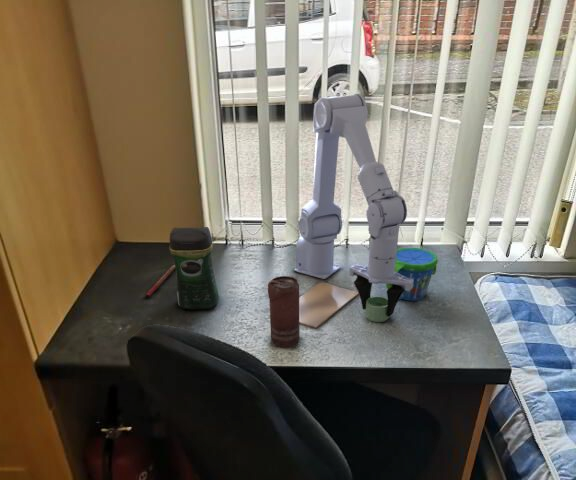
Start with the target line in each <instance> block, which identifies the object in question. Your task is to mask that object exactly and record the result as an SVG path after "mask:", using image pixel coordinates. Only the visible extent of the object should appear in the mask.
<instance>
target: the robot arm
mask: <svg viewBox="0 0 576 480" xmlns="http://www.w3.org/2000/svg"><path fill="white" fill-rule="evenodd" d="M368 115H369V111H368V108H367V103H366V100H365V98H364V96H363V95H362V94H361V93H354V94H349V95H338V96H330V97H329V96H328V97H325V96H323V97H320V98H318V100H317V101H316V102H315V103H314V106H313V122H312V132H313V133H315V134H316V137H315V151H314V169H313V187H312V188H313V189H312V199H310V201H308V203H306V204H305V205H304V206H303V207H302V208H301V211H300V212H301V213H300V218H299V220H298V230H299V234H300V236H299V237H298V239H297V242H296V245H295V268H294V272H297V273H300V274H304V275H307V276H311V277H315V278H318V279H322V280H326V279H328V278H329V277H330V276H331V275H333V274H334V273H336V272H337V271H338V270H340V266H338V265H334V261H335V259H334V256H335V240H337V239H338V235H339V234H341V232H342V229H343V219H342V208H341V207H340V205H339V204H337V203H336V202H335V189H336V177H337V167H338V166H337V165H338V153H339V142H340V137H341V138H344V139H345V140H346V143H347V145H348V147H349V149H350V151H351V153H352V155H353V157H354V159H355V161H356V164H357V165H358V168H359V172H358V174H357V179H358V183H359V185H360V187H361V190H362V193H363V195H364V198H365V200H366V203H367V209H366V210H365V213H366V214H365V215H366V220H367V224H368V229H367V230H368V234H369V235H370V237H369V238H370V239H369V250H368V251H369V252H368V255H369V256H368V265H365V266H364V265H359V264H358V265H357V264H353V265H351V266H350V267H349V271H348V272H349V273H348V275H349V277H355V276H356V279H355V280H354V281H353V286H354V287H355V288H356V290H357V292H358V293H359V294H358V296H359V298H360V302H361V308H362V310H366V300H367V299H368V298H369V297H371V292H372V287H373V284H374V285H377V284H385V285H386V284H389V285H392V287H390V288H389V289H387V290H386V298H388V306H387V316H389V318H390V317H391V316H393V315H394V313H395V309H396V306H397V304H398V302H399V300H400V299H399V298H400V296H401V295H402V293H403V291H404V290H406V291H410V290H411V289H412V288H413V282H414V280H413V279H409V278H407V277H405V276H403V275H400V274H398V273H396V272H395V263H396V253H397V250H398V243H399V232H400V224H404V223H405V221H406V220H407V215H408V208H407V204H406V200H405V198H404V197H403V196H402V195H401V194H399V193H398V191H397V190H394V188H393V186H392V183H391V180H390V177H389V175H388V172H387V170H386V167H385V165H384V164H383V163H382V162H379V161H377V160H376V157H375V153H374V150H373V145H372V143H371V139H370V135H369V133H368V129H367V126H366V125H367V122H368Z"/></svg>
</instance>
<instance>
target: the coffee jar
mask: <svg viewBox="0 0 576 480" xmlns="http://www.w3.org/2000/svg"><path fill="white" fill-rule="evenodd" d="M211 234H212V233H211V230H210V228H209V227H208V226H203V227H202V226H201V227H173V228H172V229H171V231H170V233H169V252H170V254H171V255H172V257H173V260H174V265H175V275H176V298H177V304H178V307H180V308H181V309H183V310H190V311H191V310H208V309H212V308H214V307H215V306H217V304H218V303H219V297H220V296H219V291H218V286H217V281H216V277H215V273H214V268H213V261H212V251H213V247H214V241H213V238H212V235H211Z"/></svg>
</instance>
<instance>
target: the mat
mask: <svg viewBox="0 0 576 480" xmlns="http://www.w3.org/2000/svg"><path fill="white" fill-rule="evenodd" d="M357 296H359V293H358V291H356V290H352V289H348V288H344V287H341V286H337V285H334V284H330V283H326V282H324V281H323V282H322V281H320V282H319V283H317V284H315V285H313V287H311V288H310V289H308V290H307V291H305V292H304V293H303V294H302V295H299V325H303V326H306V327H308V328H312V329H315V330H317V329H318V328H319V327H321V325H323V324H324V323H325V322H327V321H328V320H329V319H330V318H332V316H334V315H336V313H337V312H339V311H340V310H341V309H343V307H345V306H347V304H348V303H350V302H351V301H352V300H353V299H355V298H356V297H357Z"/></svg>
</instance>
